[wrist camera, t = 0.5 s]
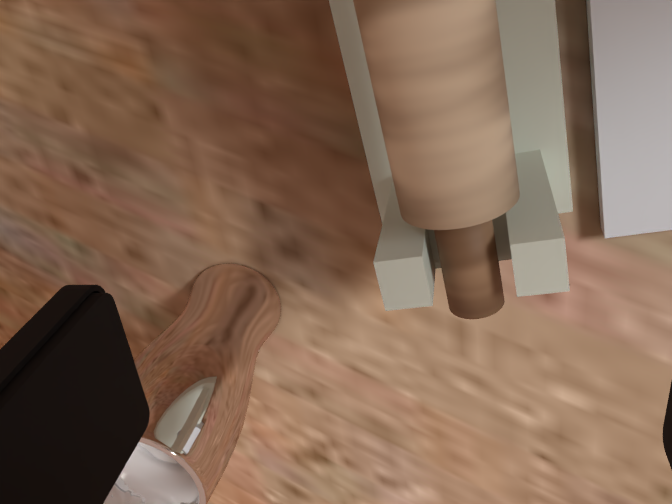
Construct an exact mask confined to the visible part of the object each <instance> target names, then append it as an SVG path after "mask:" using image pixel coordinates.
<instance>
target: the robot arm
mask: <svg viewBox="0 0 672 504" xmlns="http://www.w3.org/2000/svg"><path fill="white" fill-rule="evenodd" d="M149 417H150V411H149V406H148V403H147V400H146V397H145V394H144V391H143V387H142V384H141V381H140V378H139V375H138V372H137V369H136V366H135V363H134V360H133V357H132V353H131V350H130V347H129V344H128V341H127V338H126V335H125V332H124V329H123V326H122V323H121V320H120V316H119V313H118V310H117V307H116V304H115V301H114V299H113V297H112V296H111V295H110V294H108V293H105V291H104V289H103V288H102V287H101V286H98V285H66V286H64V287H63V288H61V289H60V290H59V291H58V292H57V293H56V294H55V295H54V296H53V297H52V298H51V299H50V300H49V301H48V302H47V303H46V304H45V305H44V306H43V307H42V308H41V309H40V310H39V311H38V312H37V313H36V314H35V315H34V316H33V317H32V318H31V319H30V320H29V321H28V322H27V323H26V324H25V325H24V326H23V327H22V328H21V329H20V330H19V331H18V332H17V333H16V334H15V335H14V336H13V337H12V338H11V339H10V340H9V341H8V342H7V343H6V344H5V345H4V346H3V347H2V348H1V349H0V504H103V503H104V501H105V500H106V498H107V496H108V494H109V493H110V491H111V489H112V488H113V486H114V484H115V482H116V481H117V479H118V477H119V475H120V474H121V472H122V470H123V469H124V467H125V465H126V463H127V462H128V460H129V458H130V456H131V455H132V453H133V451H134V450H135V448H136V446H137V444H138V443H139V441H140V439H141V437H142V436H143V434H144V432H145V431H146V428H147V426H148V423H149ZM663 443H664V449H665V452H666V455H667V458H668V461H669V463H670V466H671V469H672V382H671V388H670V393H669V398H668V404H667V409H666V415H665V420H664V425H663Z"/></svg>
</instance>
